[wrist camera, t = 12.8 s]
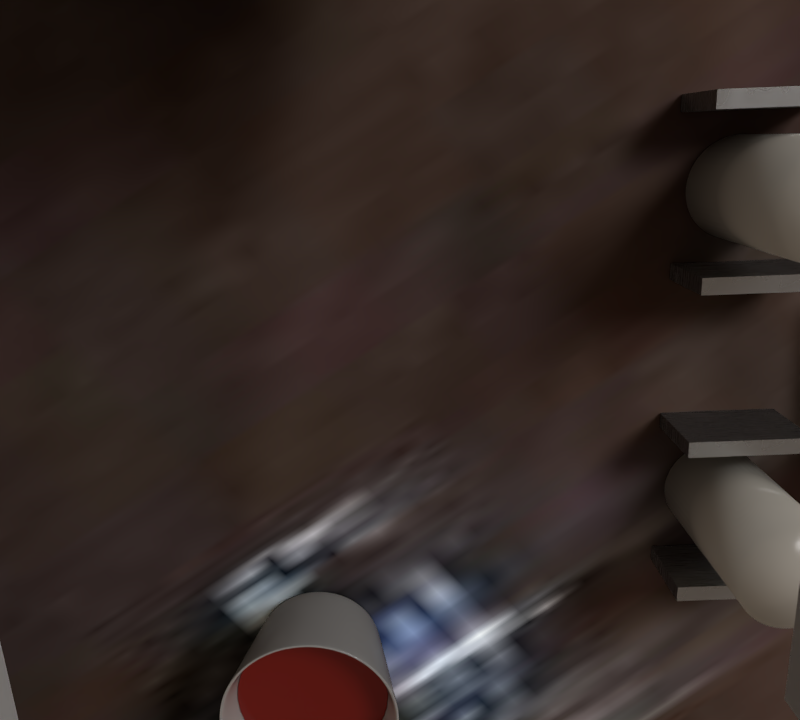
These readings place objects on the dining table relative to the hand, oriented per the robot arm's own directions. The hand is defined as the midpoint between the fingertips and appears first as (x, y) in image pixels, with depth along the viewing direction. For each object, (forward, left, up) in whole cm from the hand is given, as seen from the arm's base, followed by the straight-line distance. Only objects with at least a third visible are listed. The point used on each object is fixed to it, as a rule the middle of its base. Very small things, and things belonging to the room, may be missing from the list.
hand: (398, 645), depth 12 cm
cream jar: (-5, +17, -27) cm, 32 cm away
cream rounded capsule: (+11, +17, -27) cm, 34 cm away
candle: (+20, -5, -27) cm, 34 cm away
